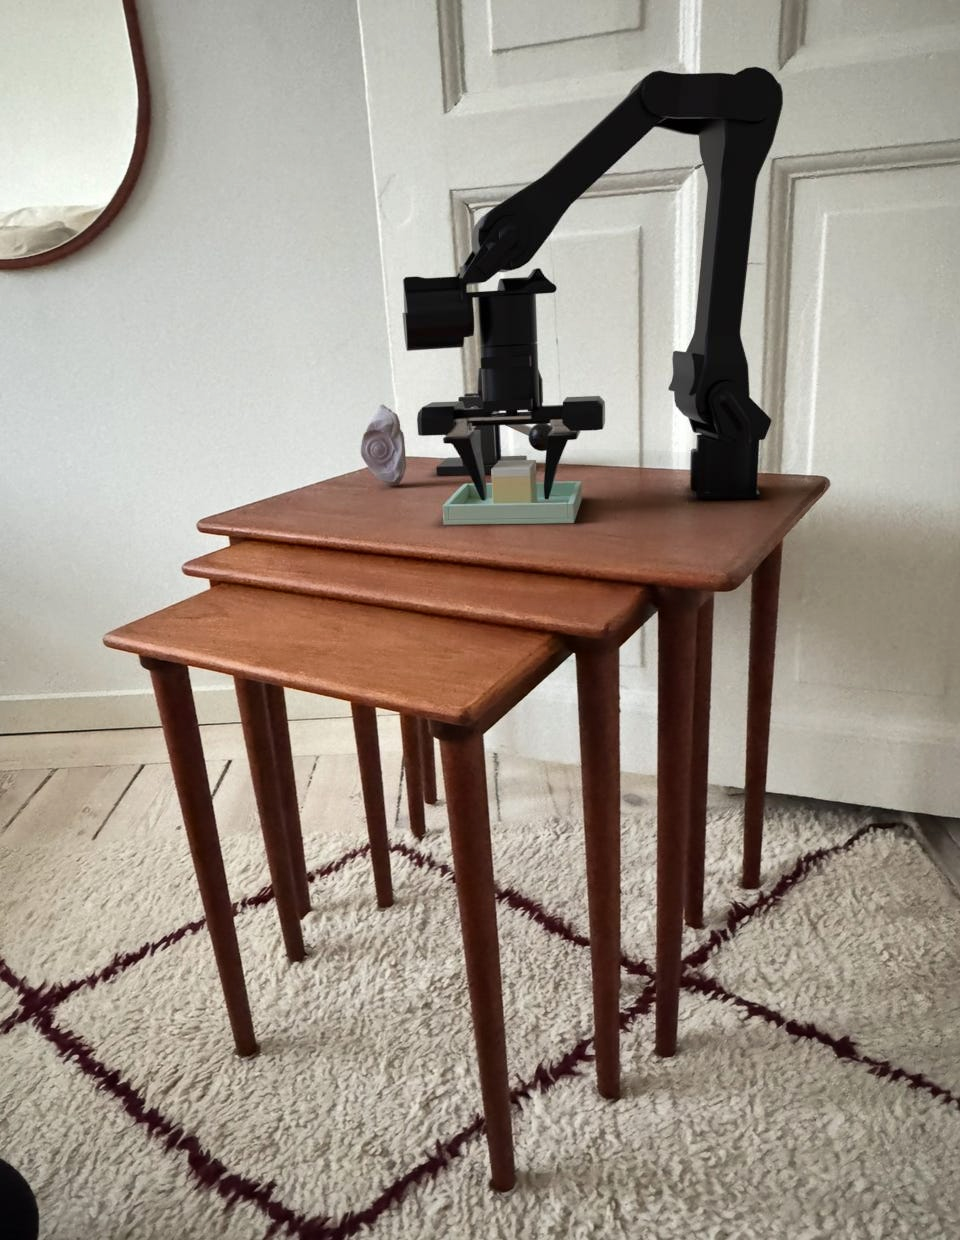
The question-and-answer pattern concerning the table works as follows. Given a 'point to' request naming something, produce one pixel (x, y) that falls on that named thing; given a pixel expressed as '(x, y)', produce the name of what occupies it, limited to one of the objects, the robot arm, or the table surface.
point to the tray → (514, 506)
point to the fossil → (384, 447)
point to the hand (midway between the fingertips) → (515, 499)
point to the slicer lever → (534, 434)
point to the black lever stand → (488, 445)
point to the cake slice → (514, 481)
